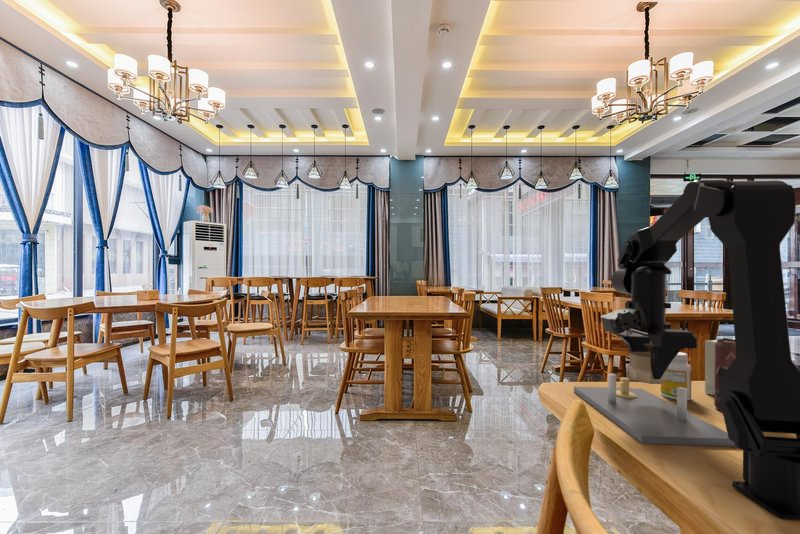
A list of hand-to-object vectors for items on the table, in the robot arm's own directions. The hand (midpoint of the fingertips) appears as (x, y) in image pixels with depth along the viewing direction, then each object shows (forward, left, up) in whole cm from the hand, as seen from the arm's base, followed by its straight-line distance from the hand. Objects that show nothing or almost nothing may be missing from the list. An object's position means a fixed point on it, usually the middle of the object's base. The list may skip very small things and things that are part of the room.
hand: (647, 374), depth 74 cm
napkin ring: (0, 0, -1) cm, 1 cm away
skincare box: (+10, -23, -7) cm, 26 cm away
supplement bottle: (+8, -11, -7) cm, 16 cm away
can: (0, -17, -7) cm, 19 cm away
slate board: (-3, +3, -7) cm, 8 cm away
